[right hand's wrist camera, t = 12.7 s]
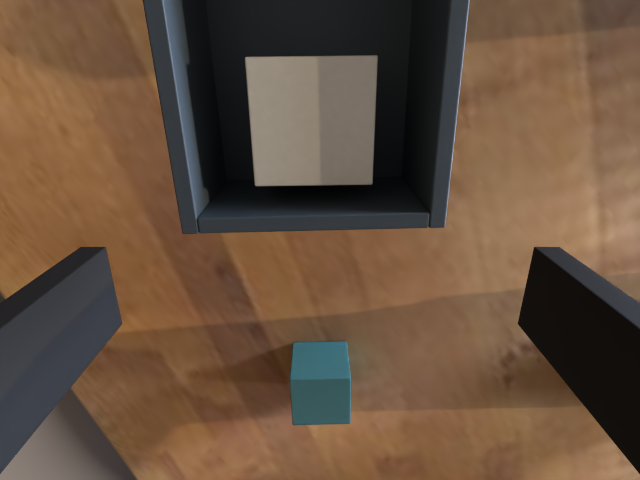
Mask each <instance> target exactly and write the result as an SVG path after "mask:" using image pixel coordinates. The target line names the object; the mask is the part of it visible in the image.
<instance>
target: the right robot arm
mask: <svg viewBox="0 0 640 480" xmlns="http://www.w3.org/2000/svg"><path fill="white" fill-rule="evenodd" d="M121 325H122V321H121V316H120V311H119V307H118V302H117V297H116V293H115V288H114V283H113V279H112V274H111V269H110V264H109V260H108V255H107V250H106V247H80V248H79V249H77V250H76V251H75V252H73V253H72V254H70V255H69V256H67V257H66V258H64V259H63V260H62V261H60V262H59V263H57V264H56V265H54V266H53V267H52V268H50V269H49V270H47V271H46V272H44V273H43V274H42V275H40V276H39V277H37V278H36V279H34V280H33V281H31V282H30V283H29V284H27V285H26V286H24V287H23V288H21V289H20V290H19V291H17V292H16V293H14V294H13V295H11V296H10V297H9V298H7V299H6V300H4V301H3V302H1V303H0V474H1V472H2V471H3V470H4V469H5V467H6V466H7V465H8V464H9V462H10V461H11V460H12V459H13V458H14V456H15V455H16V454H17V453H18V451H19V450H20V449H21V448H22V446H23V445H24V444H25V443H26V442H27V440H28V439H29V438H30V437H31V435H32V434H33V433H34V432H35V430H36V429H37V428H38V427H39V426H40V424H41V423H42V422H43V421H44V419H45V418H46V417H47V416H48V414H49V413H50V412H51V411H52V410H53V408H54V407H55V406H56V405H57V403H58V402H59V401H60V400H61V398H62V397H63V396H64V395H65V394H66V392H67V391H68V390H69V389H70V387H71V386H72V385H73V384H74V382H75V381H76V380H77V379H78V378H79V376H80V375H81V374H82V373H83V371H84V370H85V369H86V368H87V366H88V365H89V364H90V363H91V362H92V360H93V359H94V358H95V357H96V355H97V354H98V353H99V352H100V350H101V349H102V348H103V347H104V346H105V344H106V343H107V342H108V341H109V339H110V338H111V337H112V336H113V334H114V333H115V332H116V331H117V330H118V328H119V327H120V326H121ZM518 325H519V326H520V327H521V328H522V330H523V331H524V332H525V333H526V334H527V336H528V337H529V338H530V339H531V341H532V342H533V343H534V344H535V346H536V347H537V348H538V349H539V350H540V352H541V353H542V354H543V355H544V357H545V358H546V359H547V360H548V362H549V363H550V364H551V365H552V366H553V368H554V369H555V370H556V371H557V373H558V374H559V375H560V376H561V378H562V379H563V380H564V381H565V382H566V384H567V385H568V386H569V387H570V389H571V390H572V391H573V392H574V394H575V395H576V396H577V397H578V398H579V400H580V401H581V402H582V403H583V405H584V406H585V407H586V408H587V410H588V411H589V412H590V413H591V414H592V416H593V417H594V418H595V419H596V421H597V422H598V423H599V424H600V426H601V427H602V428H603V429H604V430H605V432H606V433H607V434H608V435H609V437H610V438H611V439H612V440H613V442H614V443H615V444H616V445H617V446H618V448H619V449H620V450H621V451H622V453H623V454H624V455H625V456H626V458H627V459H628V460H629V461H630V462H631V464H632V465H633V466H634V467H635V469H636V470H637V471H638V472H639V474H640V303H639V302H637V301H636V300H634V299H633V298H631V297H630V296H629V295H627V294H626V293H624V292H623V291H621V290H620V289H619V288H617V287H616V286H614V285H613V284H611V283H610V282H609V281H607V280H606V279H604V278H603V277H601V276H600V275H598V274H597V273H596V272H594V271H593V270H591V269H590V268H588V267H587V266H586V265H584V264H583V263H581V262H580V261H578V260H577V259H576V258H574V257H573V256H571V255H570V254H568V253H567V252H565V251H564V250H563V249H561V248H560V247H534V250H533V255H532V260H531V264H530V269H529V274H528V279H527V283H526V288H525V293H524V297H523V302H522V307H521V311H520V316H519V321H518Z"/></svg>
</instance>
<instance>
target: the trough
mask: <svg viewBox="0 0 640 480" xmlns="http://www.w3.org/2000/svg"><path fill="white" fill-rule="evenodd" d="M469 2H470V0H143V4H144V10H145V16H146V22H147V28H148V33H149V39H150V45H151V51H152V57H153V63H154V69H155V75H156V80H157V86H158V92H159V98H160V104H161V110H162V116H163V122H164V128H165V133H166V139H167V145H168V151H169V157H170V163H171V169H172V175H173V180H174V186H175V192H176V198H177V204H178V210H179V216H180V222H181V227H182V233H183V234H195V233H199V232H200V233H229V232H272V231H314V230H356V229H399V228H428V227H430V228H442V227H445V224H446V215H447V206H448V196H449V187H450V178H451V169H452V159H453V150H454V141H455V132H456V122H457V113H458V104H459V95H460V85H461V76H462V67H463V58H464V49H465V39H466V30H467V21H468V12H469ZM360 55H377V56H378V63H377V87H376V112H375V136H374V160H373V183H372V185H309V186H255V182H254V169H253V156H252V143H251V130H250V117H249V104H248V92H247V79H246V66H245V57H279V56H360Z"/></svg>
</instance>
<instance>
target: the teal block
mask: <svg viewBox="0 0 640 480" xmlns="http://www.w3.org/2000/svg"><path fill="white" fill-rule="evenodd" d="M290 392H291V407H292V423H293V425H320V424H350V418H351V375H350V367H349V358H348V349H347V342H346V341H331V342H294V343H293V348H292V360H291V371H290Z"/></svg>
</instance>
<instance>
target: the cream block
mask: <svg viewBox="0 0 640 480" xmlns="http://www.w3.org/2000/svg"><path fill="white" fill-rule="evenodd" d="M377 63H378V56H377V55H360V56H279V57H245V66H246V79H247V92H248V104H249V117H250V130H251V143H252V156H253V169H254V182H255V186H309V185H372V183H373V160H374V136H375V112H376V87H377Z"/></svg>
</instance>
